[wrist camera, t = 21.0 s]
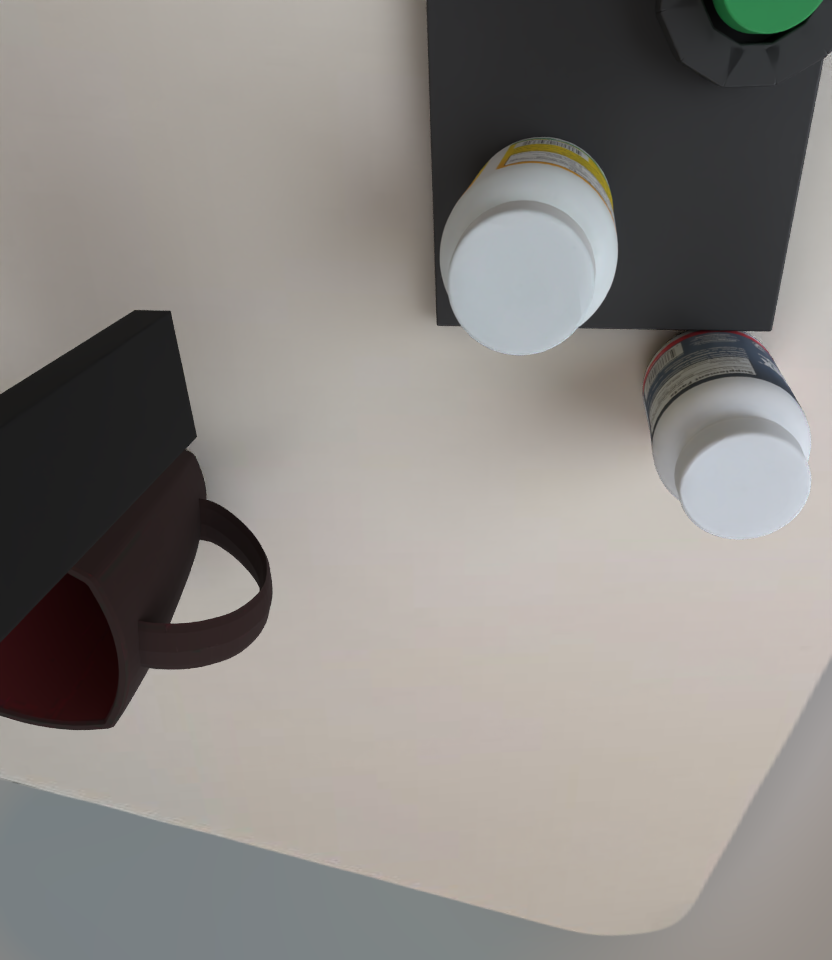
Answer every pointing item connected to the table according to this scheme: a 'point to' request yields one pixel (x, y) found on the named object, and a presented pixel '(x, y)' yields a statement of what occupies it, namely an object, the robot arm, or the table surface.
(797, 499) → the pill bottle
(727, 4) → the button
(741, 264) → the scale
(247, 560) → the cup
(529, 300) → the supplement bottle
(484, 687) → the table surface
